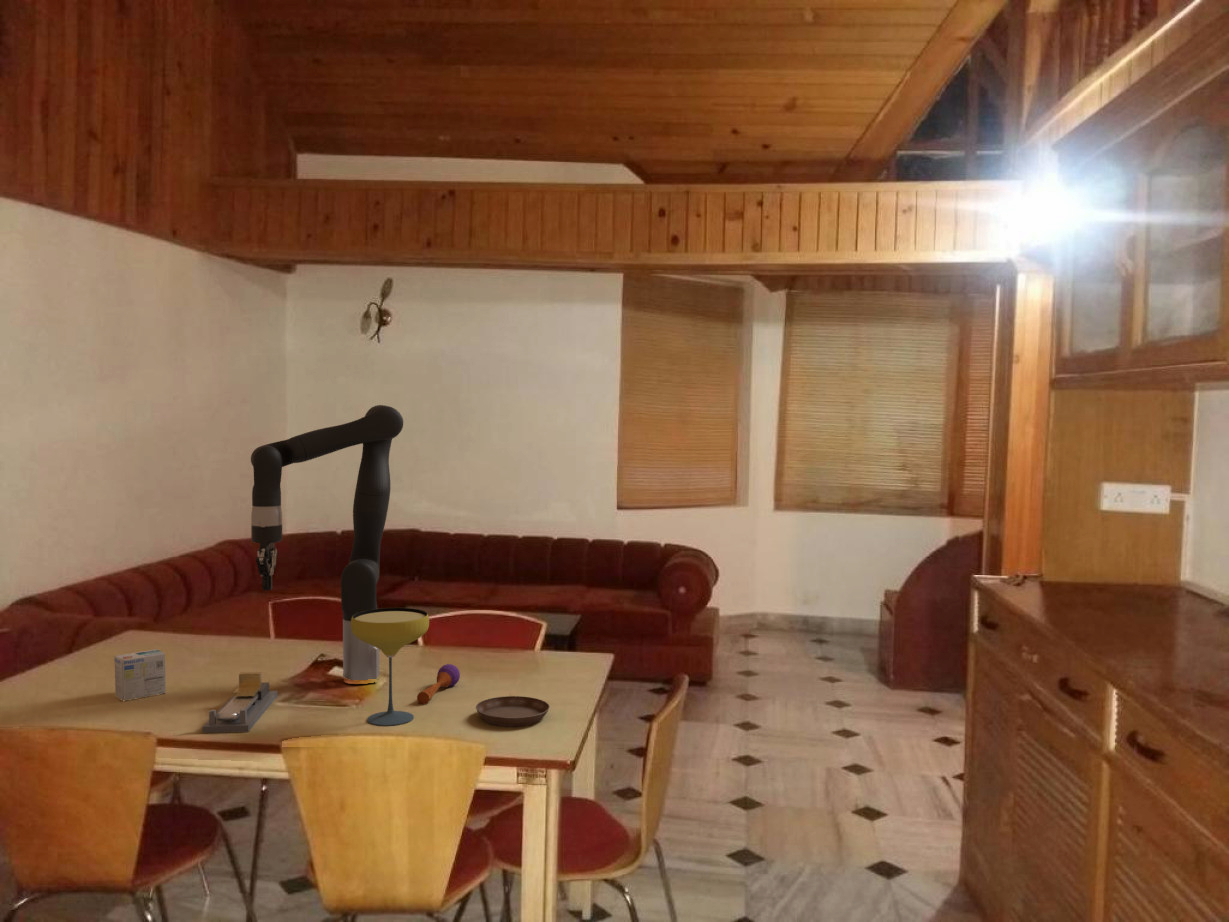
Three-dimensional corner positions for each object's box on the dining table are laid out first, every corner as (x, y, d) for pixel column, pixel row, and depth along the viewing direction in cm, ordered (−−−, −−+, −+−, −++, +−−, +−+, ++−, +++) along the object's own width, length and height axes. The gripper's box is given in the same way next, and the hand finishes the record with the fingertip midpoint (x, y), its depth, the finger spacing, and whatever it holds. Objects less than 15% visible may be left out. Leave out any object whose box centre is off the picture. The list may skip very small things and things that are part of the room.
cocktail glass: (364, 706, 241) (363, 606, 240) (436, 708, 240) (436, 608, 239) (341, 730, 223) (340, 622, 222) (419, 731, 222) (419, 623, 221)
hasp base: (248, 731, 221) (248, 712, 221) (202, 733, 220) (202, 713, 220) (277, 696, 249) (277, 679, 249) (237, 697, 248) (236, 679, 248)
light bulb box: (157, 688, 255) (156, 648, 255) (166, 694, 250) (166, 652, 250) (113, 696, 248) (113, 654, 247) (122, 702, 243) (122, 659, 242)
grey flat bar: (238, 720, 222) (238, 714, 222) (215, 721, 221) (215, 714, 221) (258, 698, 240) (258, 692, 239) (237, 699, 239) (237, 692, 239)
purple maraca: (409, 688, 244) (440, 662, 264) (414, 711, 245) (445, 683, 264) (431, 685, 243) (460, 659, 262) (436, 708, 243) (465, 681, 263)
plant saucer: (552, 707, 242) (552, 695, 242) (546, 730, 225) (546, 717, 225) (481, 707, 242) (481, 695, 242) (470, 729, 225) (470, 716, 225)
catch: (254, 695, 236) (254, 679, 236) (232, 696, 235) (232, 680, 235) (261, 687, 243) (261, 672, 243) (240, 688, 242) (240, 672, 242)
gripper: (258, 520, 256) (258, 585, 257) (244, 526, 243) (245, 595, 243) (287, 520, 257) (288, 585, 257) (275, 526, 243) (276, 594, 244)
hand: (267, 590), depth 250 cm, fingers closed
